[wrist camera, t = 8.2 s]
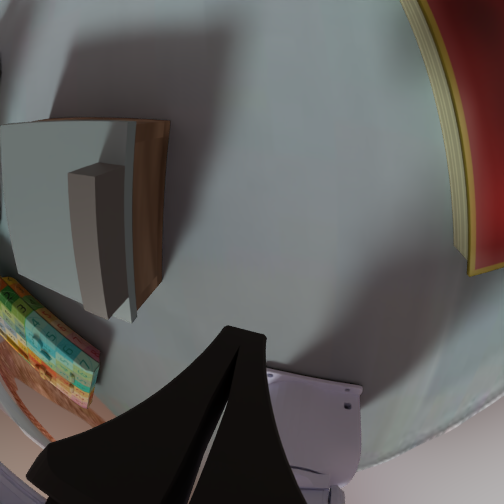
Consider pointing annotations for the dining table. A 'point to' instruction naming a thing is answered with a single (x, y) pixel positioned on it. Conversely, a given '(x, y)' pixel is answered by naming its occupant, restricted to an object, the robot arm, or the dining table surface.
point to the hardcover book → (468, 116)
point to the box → (146, 201)
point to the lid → (73, 209)
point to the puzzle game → (48, 343)
